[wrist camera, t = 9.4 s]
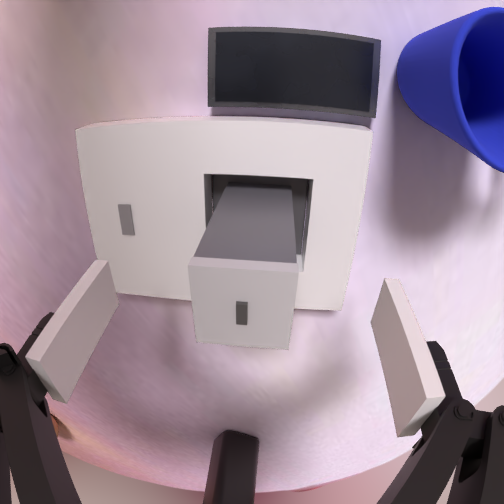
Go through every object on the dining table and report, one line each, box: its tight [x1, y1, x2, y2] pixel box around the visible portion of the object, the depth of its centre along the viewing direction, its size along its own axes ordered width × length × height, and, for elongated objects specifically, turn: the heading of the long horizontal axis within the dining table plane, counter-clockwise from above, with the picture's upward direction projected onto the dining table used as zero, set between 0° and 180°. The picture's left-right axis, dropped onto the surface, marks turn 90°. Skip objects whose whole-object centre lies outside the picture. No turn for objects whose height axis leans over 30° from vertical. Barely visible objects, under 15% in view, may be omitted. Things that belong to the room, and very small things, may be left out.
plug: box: [188, 182, 299, 350], centre depth 19 cm, size 5×5×11 cm
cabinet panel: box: [75, 116, 373, 311], centre depth 23 cm, size 14×20×3 cm
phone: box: [208, 27, 381, 118], centre depth 18 cm, size 6×11×1 cm, turn 89°
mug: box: [397, 7, 504, 173], centre depth 14 cm, size 8×12×10 cm
